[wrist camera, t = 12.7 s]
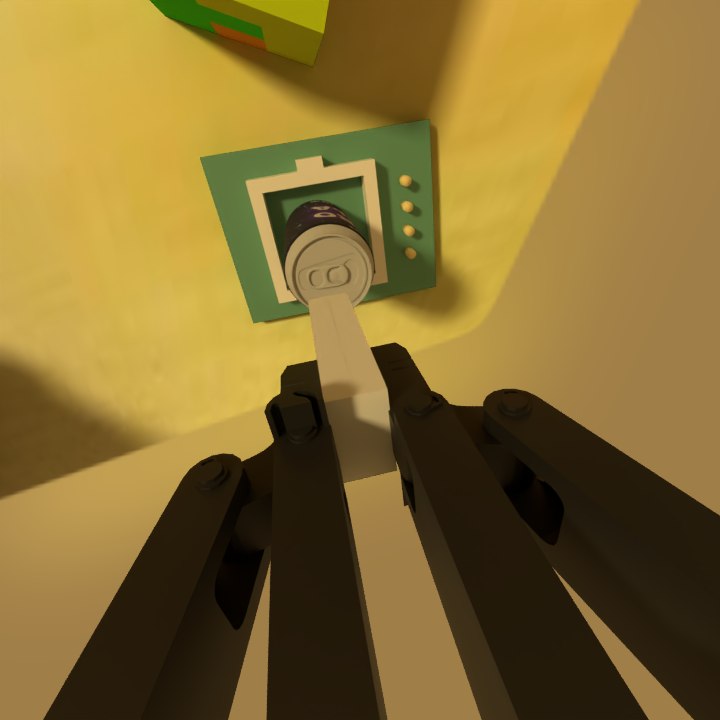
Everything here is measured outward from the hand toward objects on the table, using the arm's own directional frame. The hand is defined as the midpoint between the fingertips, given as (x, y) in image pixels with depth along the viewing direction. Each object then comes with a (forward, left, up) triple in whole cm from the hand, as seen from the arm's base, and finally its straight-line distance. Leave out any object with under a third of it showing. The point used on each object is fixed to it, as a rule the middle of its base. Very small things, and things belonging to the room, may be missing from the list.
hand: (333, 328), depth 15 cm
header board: (+2, -1, -22) cm, 22 cm away
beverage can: (+1, -1, -21) cm, 20 cm away
